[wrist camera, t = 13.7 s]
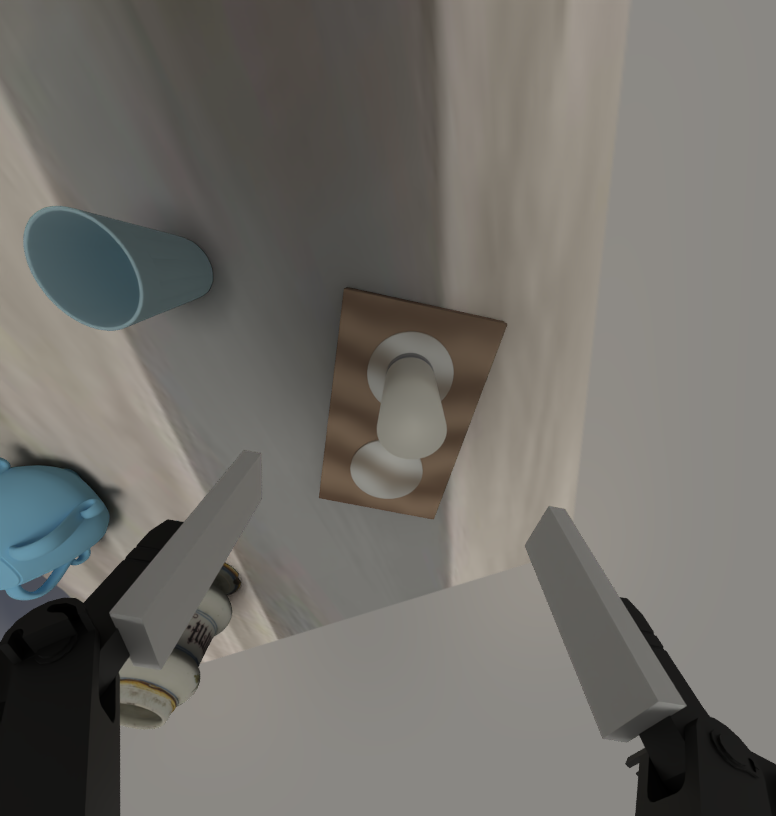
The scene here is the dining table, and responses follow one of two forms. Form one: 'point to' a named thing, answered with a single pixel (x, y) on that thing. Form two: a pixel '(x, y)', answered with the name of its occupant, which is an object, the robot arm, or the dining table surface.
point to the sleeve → (411, 409)
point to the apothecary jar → (176, 661)
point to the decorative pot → (45, 525)
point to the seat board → (363, 387)
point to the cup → (111, 267)
